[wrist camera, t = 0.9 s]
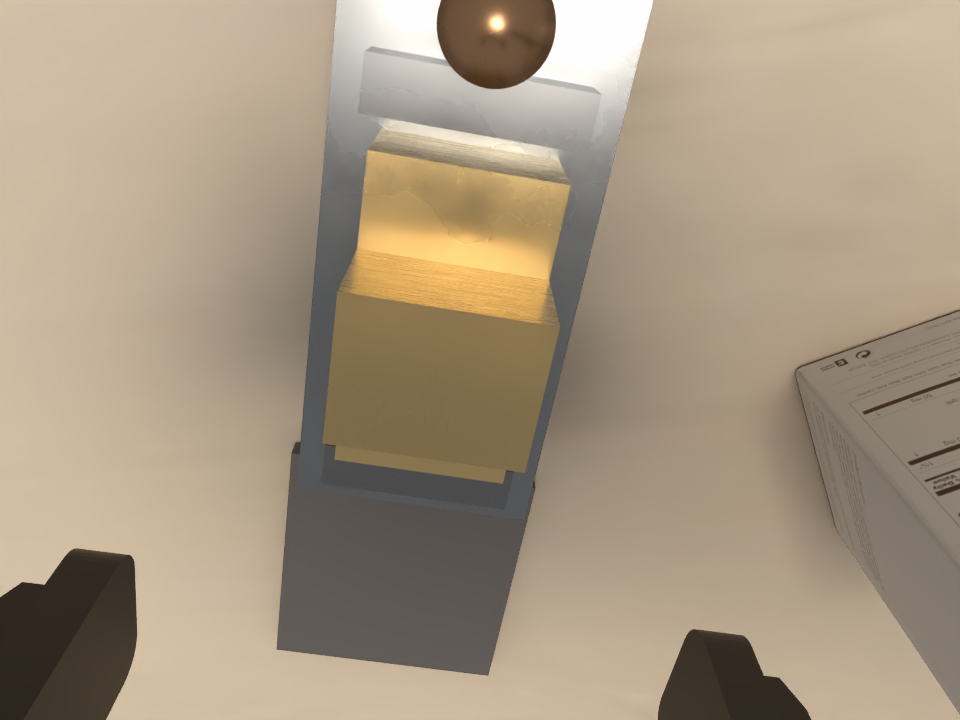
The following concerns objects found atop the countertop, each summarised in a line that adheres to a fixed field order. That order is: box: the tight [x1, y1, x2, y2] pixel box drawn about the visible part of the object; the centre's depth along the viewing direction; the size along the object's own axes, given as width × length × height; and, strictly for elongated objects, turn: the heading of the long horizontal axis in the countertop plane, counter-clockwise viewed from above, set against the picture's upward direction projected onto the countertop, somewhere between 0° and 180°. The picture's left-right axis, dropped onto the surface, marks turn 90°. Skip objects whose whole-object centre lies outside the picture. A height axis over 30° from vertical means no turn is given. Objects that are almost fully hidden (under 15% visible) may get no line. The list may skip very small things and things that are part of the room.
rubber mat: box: [277, 443, 535, 676], centre depth 34 cm, size 10×11×1 cm
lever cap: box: [323, 129, 571, 484], centre depth 20 cm, size 5×9×6 cm, turn 170°
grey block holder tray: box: [297, 0, 653, 520], centre depth 23 cm, size 8×17×10 cm, turn 170°
